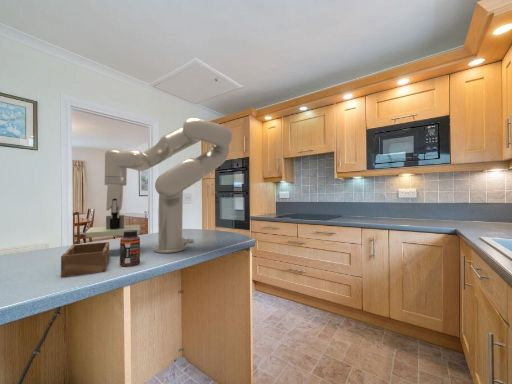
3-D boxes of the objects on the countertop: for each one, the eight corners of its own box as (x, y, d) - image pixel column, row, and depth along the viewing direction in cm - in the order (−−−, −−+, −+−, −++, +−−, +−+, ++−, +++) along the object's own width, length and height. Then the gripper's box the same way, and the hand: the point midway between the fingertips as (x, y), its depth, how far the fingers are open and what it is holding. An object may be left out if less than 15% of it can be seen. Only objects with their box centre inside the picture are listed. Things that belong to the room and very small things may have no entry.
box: (72, 262, 80) (72, 245, 80) (109, 258, 85) (109, 242, 85) (60, 277, 66) (60, 256, 66) (105, 271, 71) (105, 251, 71)
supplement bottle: (131, 267, 75) (131, 232, 75) (115, 266, 76) (115, 231, 76) (143, 261, 81) (143, 229, 81) (128, 260, 82) (128, 228, 82)
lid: (85, 237, 83) (85, 218, 83) (90, 232, 94) (90, 215, 94) (140, 233, 92) (140, 216, 91) (139, 228, 103) (139, 213, 103)
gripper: (106, 182, 98) (105, 225, 98) (102, 180, 84) (101, 231, 84) (126, 182, 102) (126, 224, 102) (126, 181, 88) (125, 230, 88)
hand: (115, 227), depth 93 cm, fingers closed on lid, 2 cm apart
